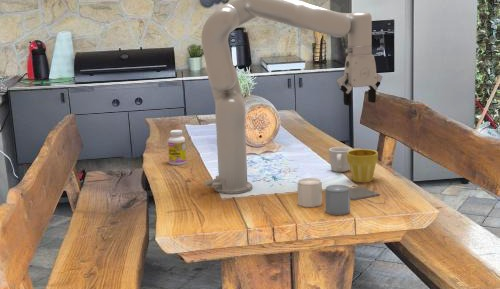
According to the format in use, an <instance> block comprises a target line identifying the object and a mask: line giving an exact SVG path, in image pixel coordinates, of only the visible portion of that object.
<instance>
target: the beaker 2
mask: <svg viewBox="0 0 500 289" xmlns="http://www.w3.org/2000/svg"><path fill="white" fill-rule="evenodd" d="M350 189H351V188H350V187H349V186H348V185H346V184H345V185H344V184H331V185H327V186H326V187H325V190H324V198H325V199H324V200H325V201H324V211H325V213H327V214H328V215H332V216H333V215H334V216H343V215H349V213H350V211H351V199H350Z"/></svg>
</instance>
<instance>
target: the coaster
mask: <svg viewBox="0 0 500 289" xmlns="http://www.w3.org/2000/svg"><path fill="white" fill-rule="evenodd" d="M349 189H350V201H357V200H361V199H362V200H363V199H367V198H374V197H378V196H380V193H378V192H375V191H373V190H371V189H369V188H366V187H363V186H357V187H351V188H349Z"/></svg>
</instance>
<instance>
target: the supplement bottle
mask: <svg viewBox="0 0 500 289" xmlns="http://www.w3.org/2000/svg"><path fill="white" fill-rule="evenodd" d="M169 134H170V137H169V138H168V139H167V143H168V145H167V146H168V147H167V148H168V162H169V164H170V165H173V166H181V165H185V164H186V163H187V147H186V138H185V137H184V136H183V130H182V129H172V130H170V132H169Z"/></svg>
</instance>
